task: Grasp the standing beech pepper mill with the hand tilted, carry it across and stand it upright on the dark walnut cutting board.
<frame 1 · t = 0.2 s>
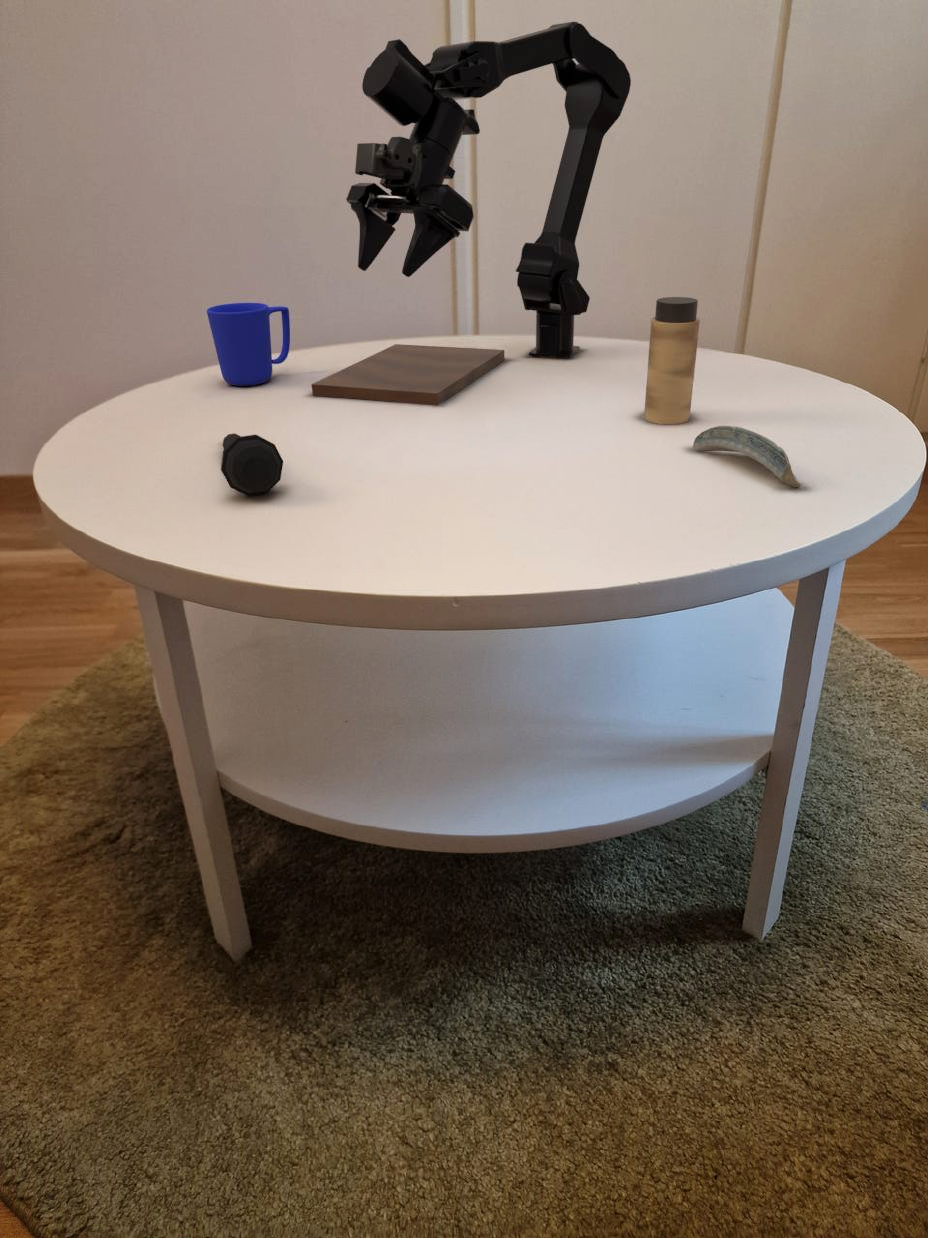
hand: (382, 272, 106), 15 cm above the table, tool tilted 35°, fingers open, 9 cm apart
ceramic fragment: (743, 469, 84), on the table
pepper mill: (666, 417, 99), on the table
cutting board: (414, 376, 120), on the table
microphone: (251, 472, 87), on the table
mug: (260, 380, 121), on the table
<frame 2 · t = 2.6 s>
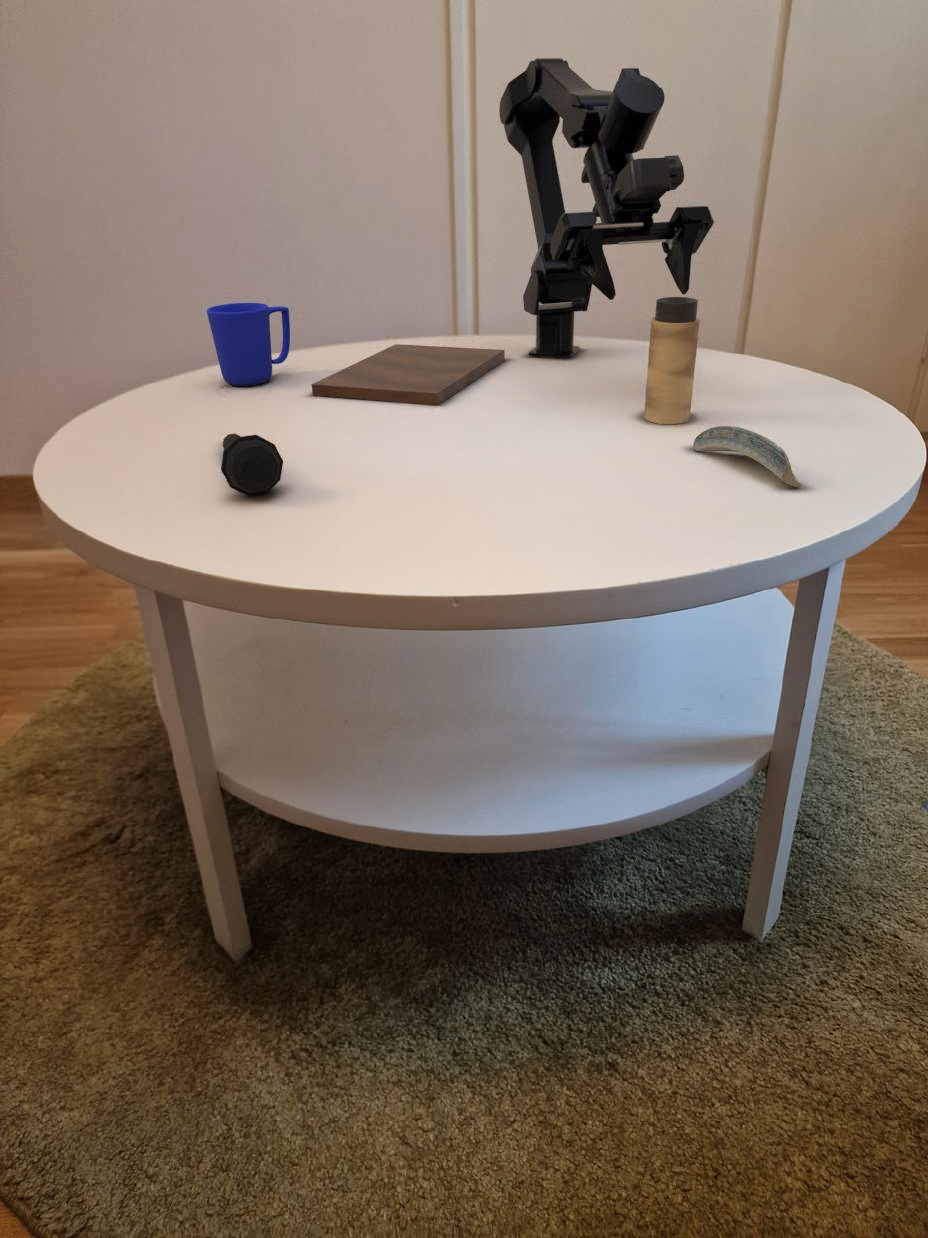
hand: (649, 294, 98), 13 cm above the table, tool tilted 45°, fingers open, 9 cm apart
nothing on the table moved.
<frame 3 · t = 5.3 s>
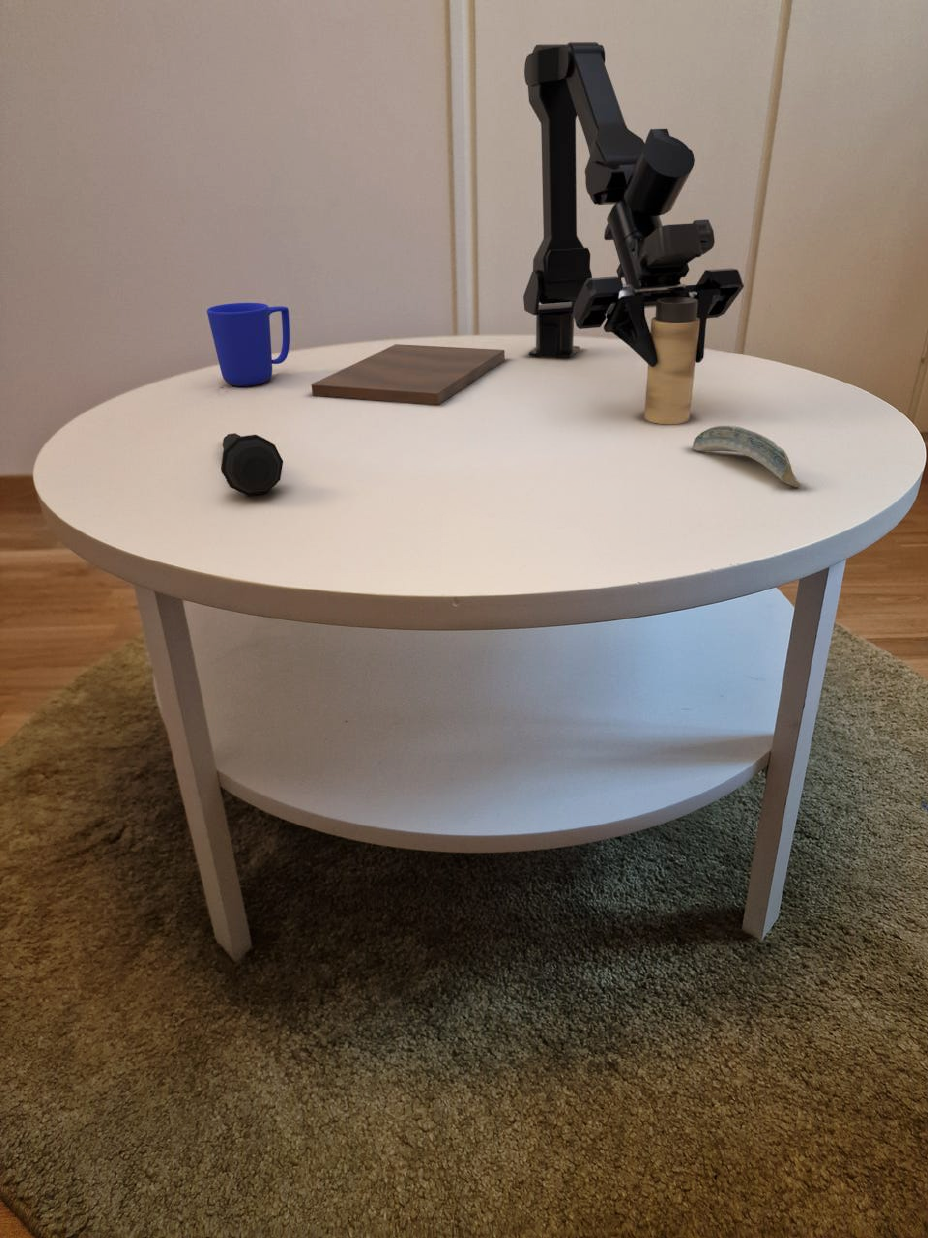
hand: (677, 362, 95), 7 cm above the table, tool tilted 45°, fingers closed on pepper mill, 5 cm apart
pepper mill: (666, 417, 99), on the table, touching gripper
everything else where it was.
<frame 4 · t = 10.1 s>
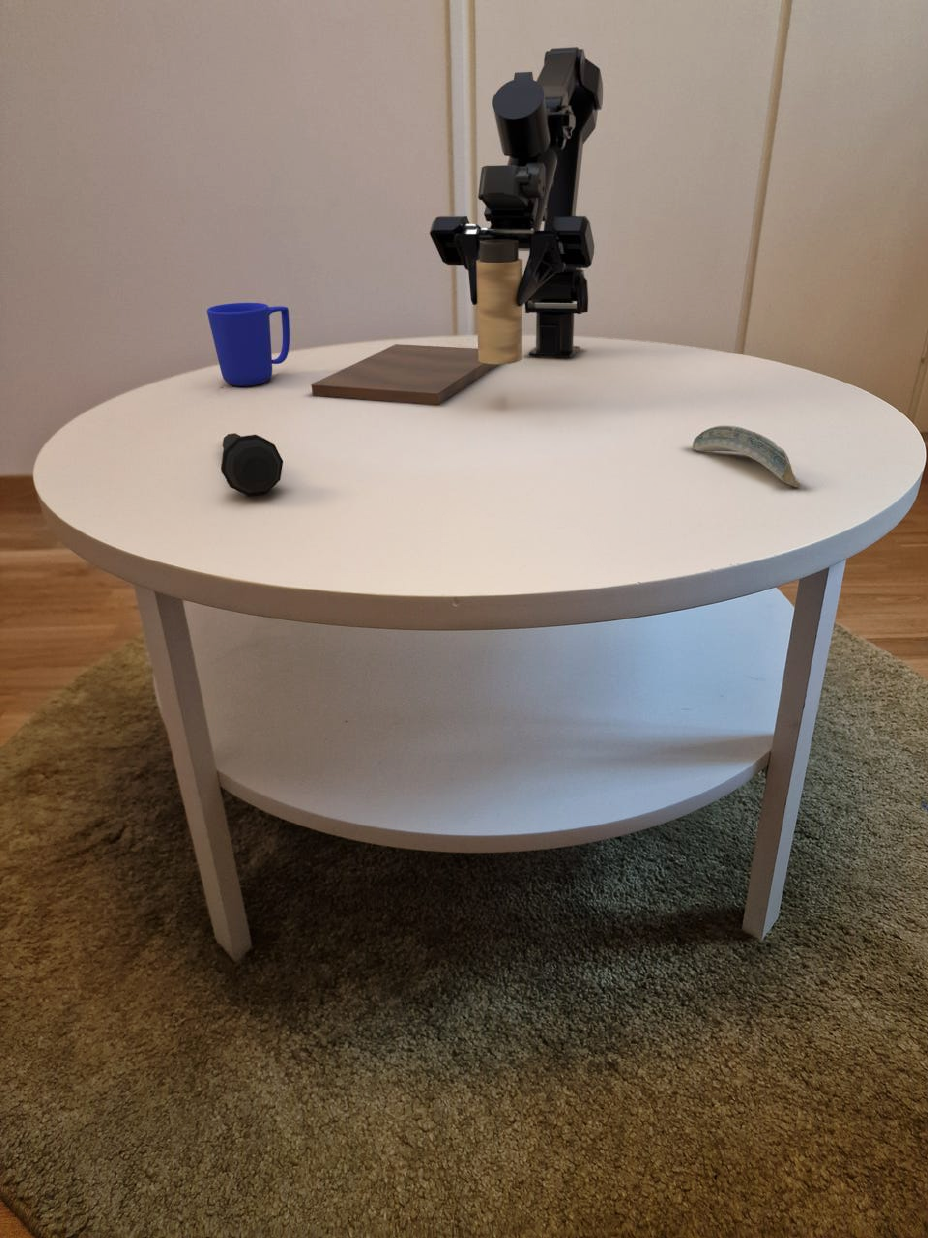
hand: (495, 303, 98), 12 cm above the table, tool tilted 45°, fingers closed on pepper mill, 5 cm apart
pepper mill: (500, 359, 102), point 6 cm above the table, touching gripper
everything else where it was.
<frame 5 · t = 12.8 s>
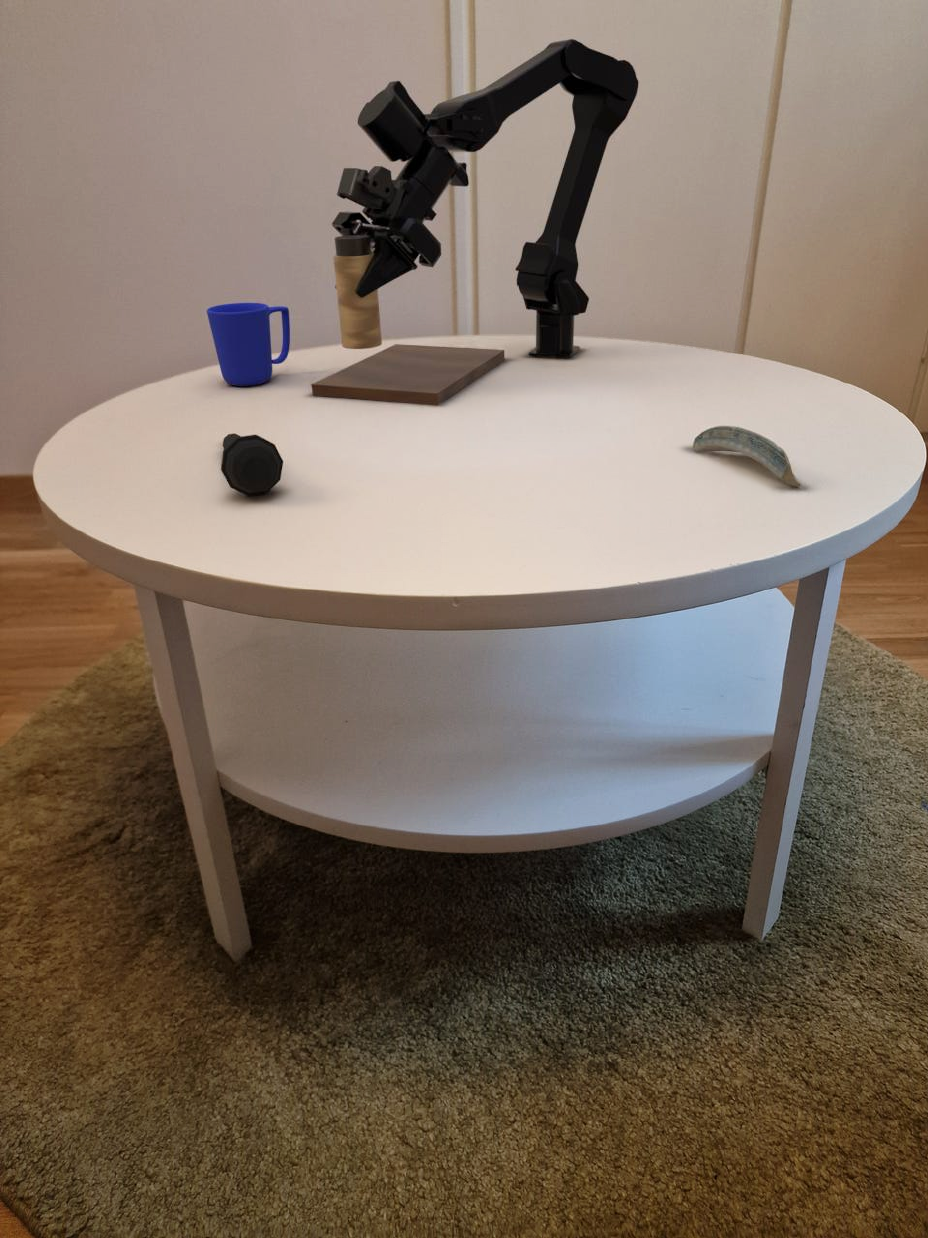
hand: (348, 292, 108), 12 cm above the table, tool tilted 45°, fingers closed on pepper mill, 5 cm apart
pepper mill: (362, 344, 112), point 6 cm above the table, touching gripper
everything else where it was.
when the fingers open (8 cm above the table, at t = 14.8 s): pepper mill stays where it is, resting on cutting board.
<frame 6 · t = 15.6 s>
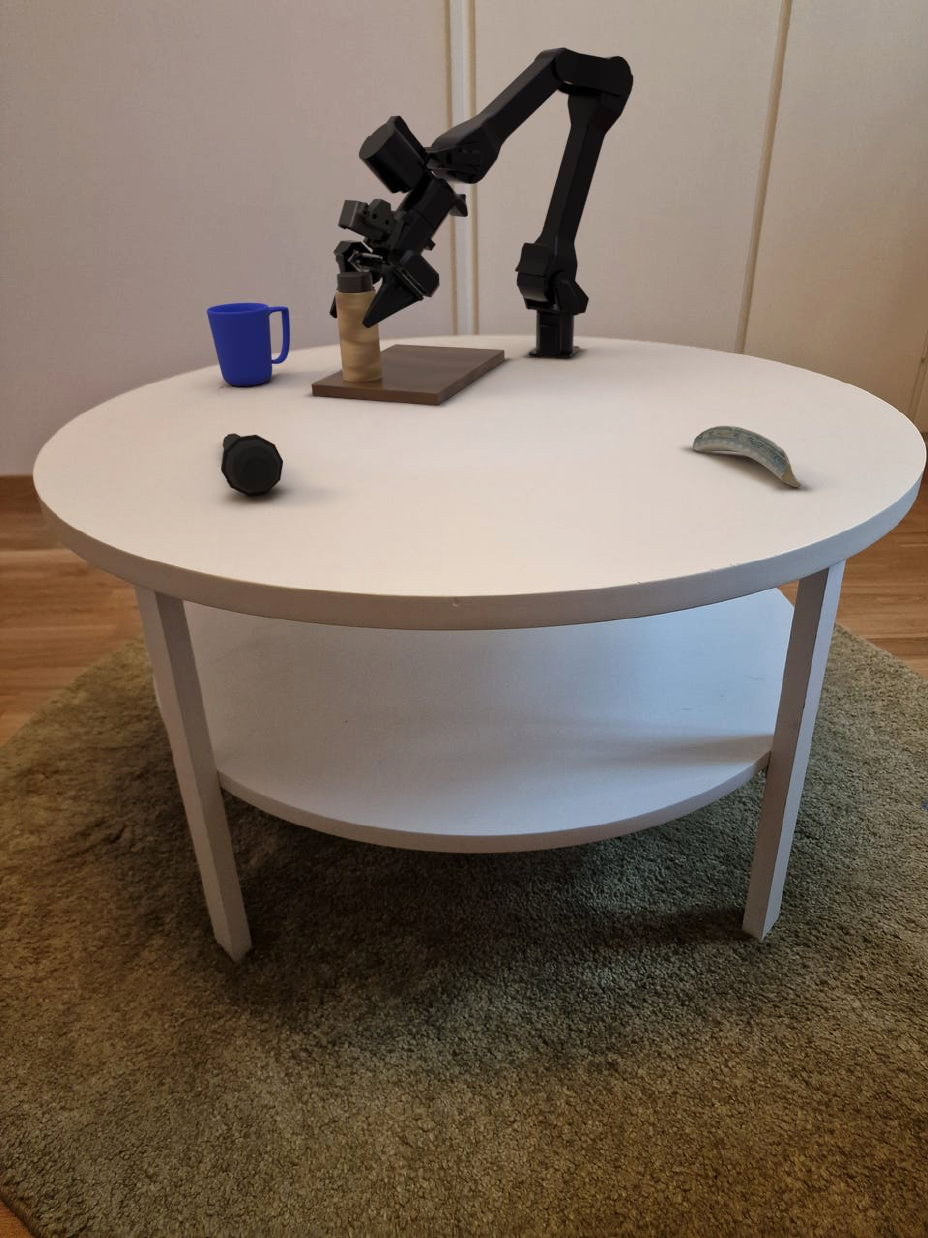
hand: (348, 320, 110), 9 cm above the table, tool tilted 45°, fingers open, 9 cm apart
pepper mill: (362, 377, 114), point 1 cm above the table, touching cutting board
everything else where it was.
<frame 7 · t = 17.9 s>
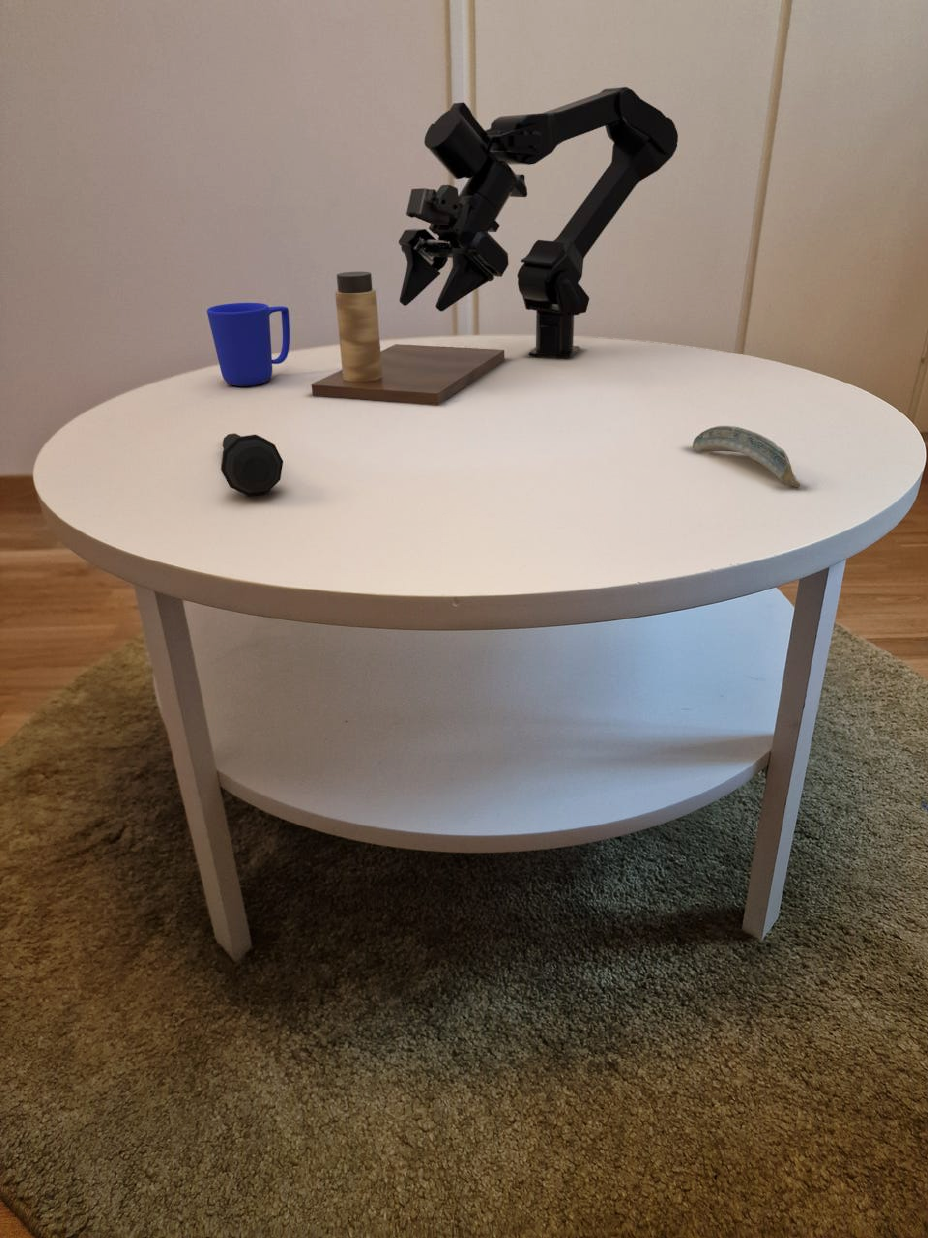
hand: (419, 306, 113), 10 cm above the table, tool tilted 40°, fingers open, 9 cm apart
nothing on the table moved.
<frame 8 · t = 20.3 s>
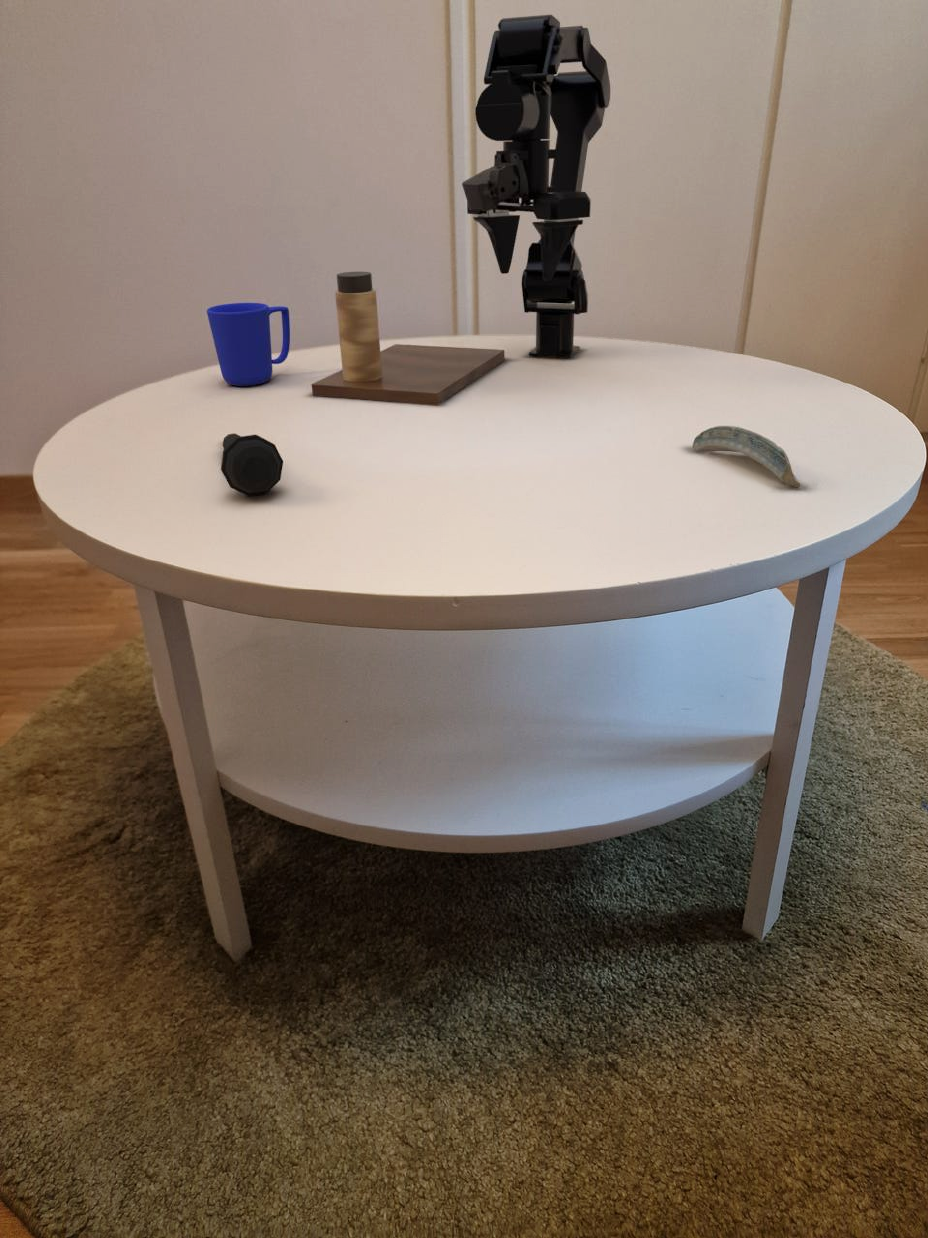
hand: (525, 276, 112), 13 cm above the table, tool pointing down, fingers open, 9 cm apart
nothing on the table moved.
at the end: pepper mill inside the target area on the cutting board (8.9 cm from its centre), point 1.5 cm above the cutting board's base; pepper mill tilted 0°; the gripper is holding nothing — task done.
